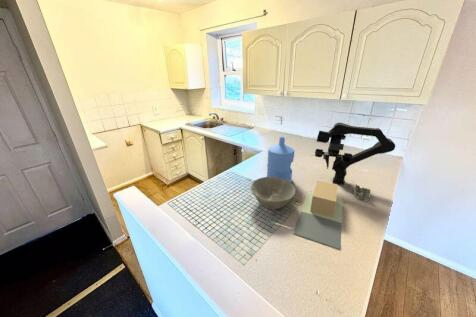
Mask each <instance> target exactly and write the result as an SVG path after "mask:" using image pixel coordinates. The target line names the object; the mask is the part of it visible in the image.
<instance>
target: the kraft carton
mask: <svg viewBox="0 0 476 317" xmlns="http://www.w3.org/2000/svg"><path fill="white" fill-rule="evenodd" d="M338 185H339V184H337V183H330V182H326V181H320V180H317V181H316V183H315V187H314V191H313V192H314V193H313V197H312V203H311V209H310V211H311V212H315V213H318V214H322V215H325V216H329V217H333V213H334V208H335V204H336V198H338V197H337V196H338Z"/></svg>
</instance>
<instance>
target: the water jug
mask: <svg viewBox="0 0 476 317" xmlns="http://www.w3.org/2000/svg"><path fill="white" fill-rule="evenodd" d="M285 140H286V137H283V136H281V137H279V142H278V143H277V144H275V145H271V146H269V148H268V149H267V164H266V166H267V169H266V170H267V171H266V177H277V178H282V179H285V180H287V181H289V182H290V183H291V182H292V180H293V169H292V167H291V166H292V164H293V162H294V160H295V159H294V158H295V149H294V148H293V147H291V146H290V145H287V144H285V142H286V141H285Z"/></svg>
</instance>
